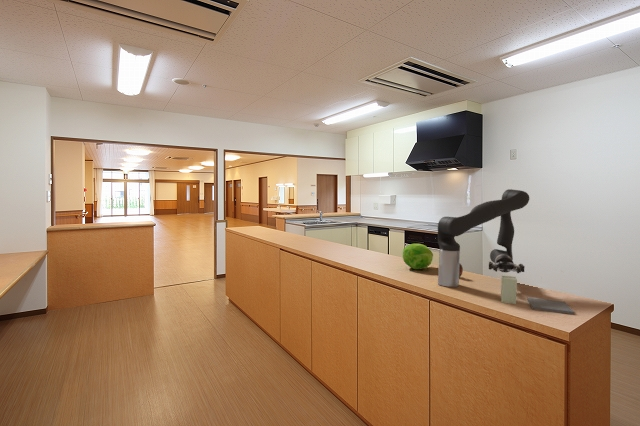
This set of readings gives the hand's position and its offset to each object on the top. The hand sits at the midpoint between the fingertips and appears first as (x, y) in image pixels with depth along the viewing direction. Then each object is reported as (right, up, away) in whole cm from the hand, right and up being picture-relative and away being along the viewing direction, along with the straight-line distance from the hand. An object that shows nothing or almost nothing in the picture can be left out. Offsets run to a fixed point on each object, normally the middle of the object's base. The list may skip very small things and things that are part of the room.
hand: (507, 270), depth 144 cm
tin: (-12, -9, +33) cm, 36 cm away
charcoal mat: (+8, -12, -15) cm, 21 cm away
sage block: (-5, -11, -10) cm, 16 cm away
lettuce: (-24, -8, +50) cm, 56 cm away
